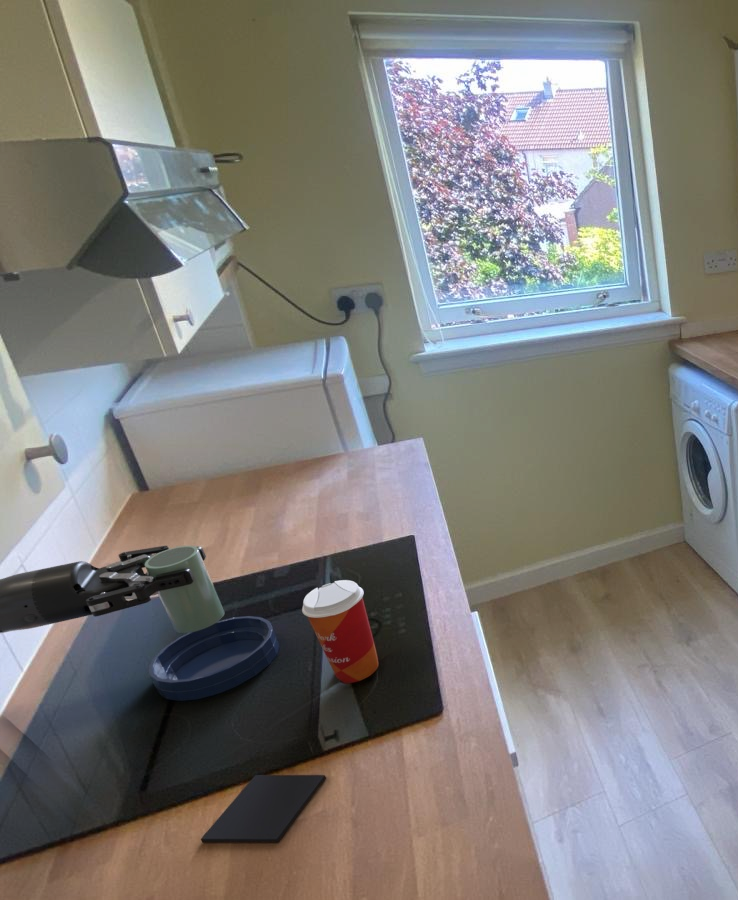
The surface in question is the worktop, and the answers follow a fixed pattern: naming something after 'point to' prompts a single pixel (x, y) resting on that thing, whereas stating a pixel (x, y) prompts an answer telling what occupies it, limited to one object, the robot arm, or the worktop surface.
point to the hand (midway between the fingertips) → (197, 564)
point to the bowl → (214, 658)
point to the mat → (264, 809)
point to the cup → (187, 590)
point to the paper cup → (342, 629)
